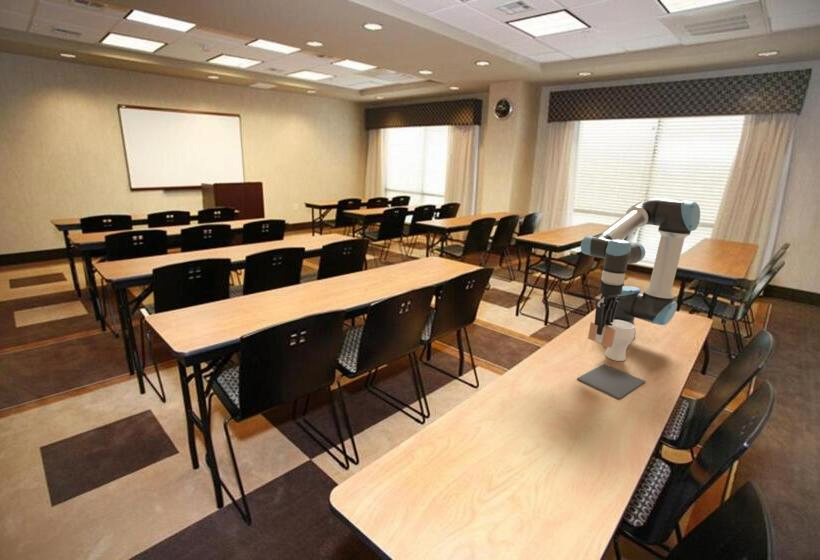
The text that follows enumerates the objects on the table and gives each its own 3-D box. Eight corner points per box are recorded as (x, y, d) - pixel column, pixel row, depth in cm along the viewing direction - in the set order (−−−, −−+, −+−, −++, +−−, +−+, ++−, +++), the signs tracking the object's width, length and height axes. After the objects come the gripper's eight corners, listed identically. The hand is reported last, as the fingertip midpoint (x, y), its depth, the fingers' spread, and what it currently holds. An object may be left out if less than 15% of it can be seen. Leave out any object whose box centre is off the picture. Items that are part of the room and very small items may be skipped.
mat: (604, 364, 164) (604, 363, 164) (645, 382, 152) (645, 381, 152) (576, 379, 152) (577, 378, 152) (619, 399, 140) (619, 398, 140)
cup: (626, 365, 164) (633, 331, 160) (598, 357, 170) (604, 324, 166) (631, 356, 172) (638, 323, 168) (604, 348, 178) (610, 317, 174)
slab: (590, 337, 159) (593, 321, 157) (612, 346, 152) (615, 329, 150) (587, 338, 158) (590, 321, 156) (609, 347, 151) (613, 330, 149)
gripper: (612, 277, 155) (601, 333, 162) (591, 282, 147) (580, 341, 154) (632, 282, 149) (619, 340, 156) (611, 287, 141) (598, 349, 148)
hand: (600, 341), depth 155 cm, fingers closed on slab, 2 cm apart
